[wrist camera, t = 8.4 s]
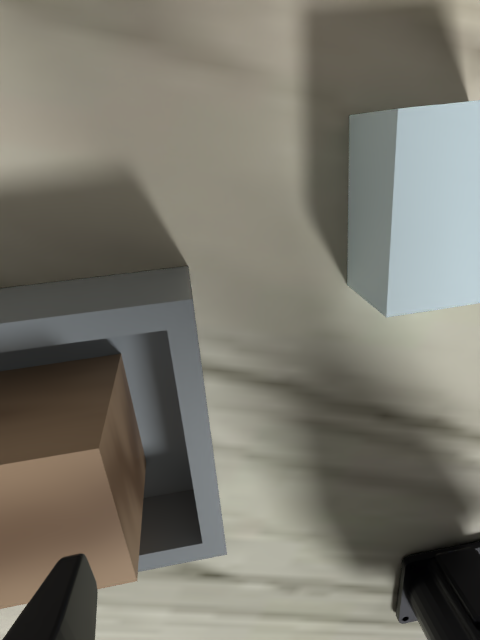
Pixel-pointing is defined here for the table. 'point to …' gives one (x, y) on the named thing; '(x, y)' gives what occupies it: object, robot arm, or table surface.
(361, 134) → the pale blue carton
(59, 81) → the table surface
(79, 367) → the walnut block
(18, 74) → the table surface
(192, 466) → the charcoal tote
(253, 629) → the table surface
